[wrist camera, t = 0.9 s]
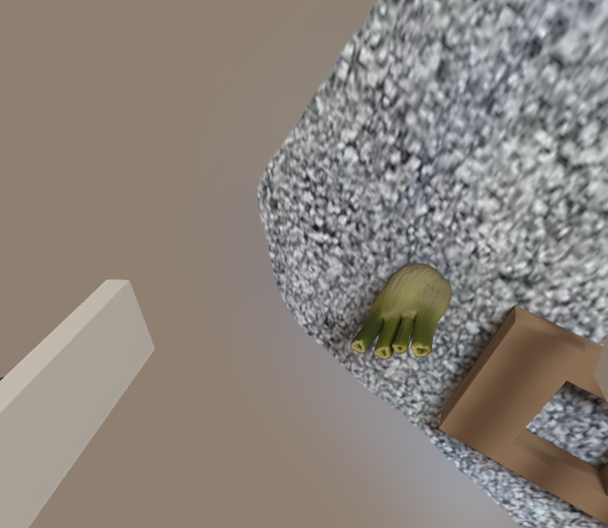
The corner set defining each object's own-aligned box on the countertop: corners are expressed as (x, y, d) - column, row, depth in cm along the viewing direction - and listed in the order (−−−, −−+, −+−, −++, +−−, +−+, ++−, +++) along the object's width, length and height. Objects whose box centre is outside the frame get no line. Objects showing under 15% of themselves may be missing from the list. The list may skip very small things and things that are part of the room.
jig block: (771, 427, 32) (793, 456, 30) (644, 521, 39) (654, 551, 37) (515, 305, 37) (515, 321, 34) (442, 408, 44) (438, 428, 41)
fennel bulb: (383, 290, 42) (343, 357, 32) (400, 247, 39) (362, 304, 29) (440, 314, 40) (417, 393, 30) (461, 271, 38) (443, 341, 28)
